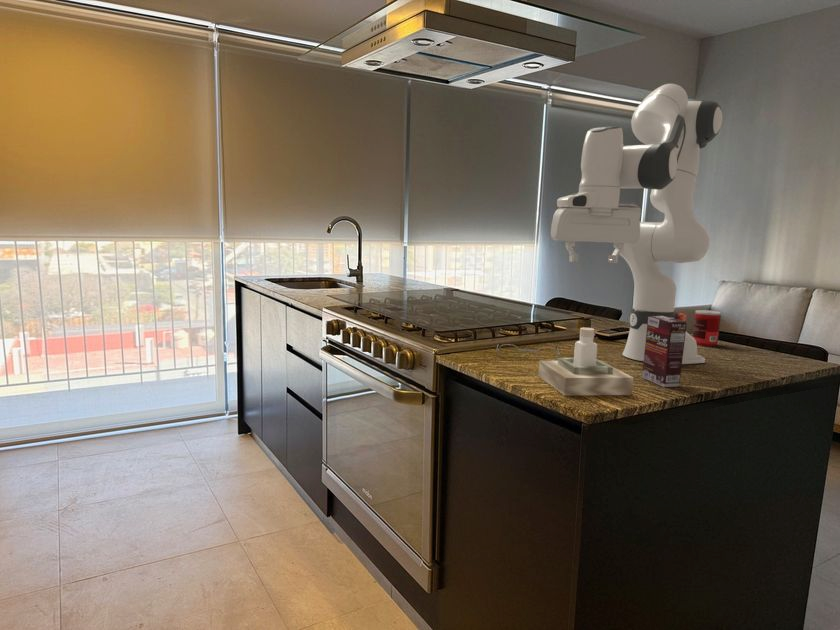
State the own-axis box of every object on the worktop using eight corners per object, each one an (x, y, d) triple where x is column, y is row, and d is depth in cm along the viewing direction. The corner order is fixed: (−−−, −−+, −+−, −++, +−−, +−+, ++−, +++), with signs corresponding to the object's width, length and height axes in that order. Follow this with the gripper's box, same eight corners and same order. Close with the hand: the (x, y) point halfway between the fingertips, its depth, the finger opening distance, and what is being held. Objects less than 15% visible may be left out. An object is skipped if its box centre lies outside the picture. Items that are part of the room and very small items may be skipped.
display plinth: (599, 376, 146) (601, 354, 145) (631, 394, 130) (634, 371, 129) (538, 376, 143) (539, 354, 142) (564, 395, 128) (566, 371, 127)
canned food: (718, 343, 195) (722, 311, 193) (715, 347, 188) (719, 314, 187) (693, 340, 199) (697, 309, 197) (690, 344, 193) (693, 311, 191)
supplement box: (640, 378, 145) (646, 315, 143) (657, 377, 147) (663, 315, 144) (663, 387, 137) (670, 321, 135) (680, 387, 139) (688, 321, 136)
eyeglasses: (495, 357, 164) (495, 343, 164) (498, 346, 182) (498, 333, 182) (560, 362, 161) (561, 348, 160) (556, 350, 179) (557, 337, 179)
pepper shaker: (572, 366, 137) (575, 327, 136) (587, 366, 139) (590, 327, 137) (581, 371, 134) (584, 330, 132) (596, 370, 135) (599, 330, 133)
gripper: (634, 203, 135) (628, 262, 137) (550, 199, 131) (546, 260, 134) (648, 202, 129) (642, 264, 131) (561, 198, 125) (556, 262, 127)
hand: (593, 262), depth 132 cm, fingers open, 8 cm apart
